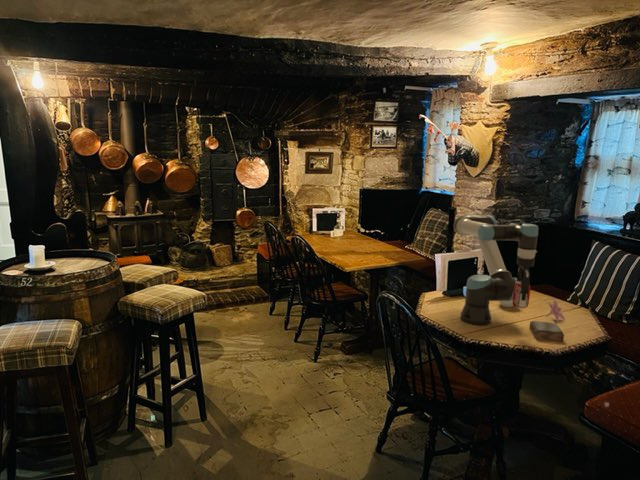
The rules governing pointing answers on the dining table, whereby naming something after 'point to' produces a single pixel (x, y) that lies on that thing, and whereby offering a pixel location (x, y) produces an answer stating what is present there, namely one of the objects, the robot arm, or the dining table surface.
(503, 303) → the lidded jar
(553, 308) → the lily
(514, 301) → the soda can
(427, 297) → the dining table surface
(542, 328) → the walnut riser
